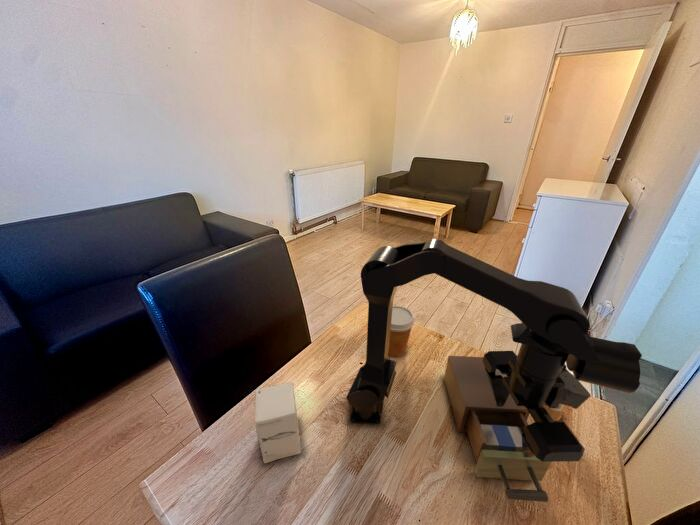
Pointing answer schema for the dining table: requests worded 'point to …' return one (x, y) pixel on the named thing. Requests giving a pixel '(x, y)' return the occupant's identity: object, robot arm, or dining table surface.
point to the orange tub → (400, 330)
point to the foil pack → (502, 437)
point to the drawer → (505, 455)
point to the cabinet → (472, 389)
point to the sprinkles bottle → (557, 412)
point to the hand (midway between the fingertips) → (512, 429)
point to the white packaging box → (277, 422)
